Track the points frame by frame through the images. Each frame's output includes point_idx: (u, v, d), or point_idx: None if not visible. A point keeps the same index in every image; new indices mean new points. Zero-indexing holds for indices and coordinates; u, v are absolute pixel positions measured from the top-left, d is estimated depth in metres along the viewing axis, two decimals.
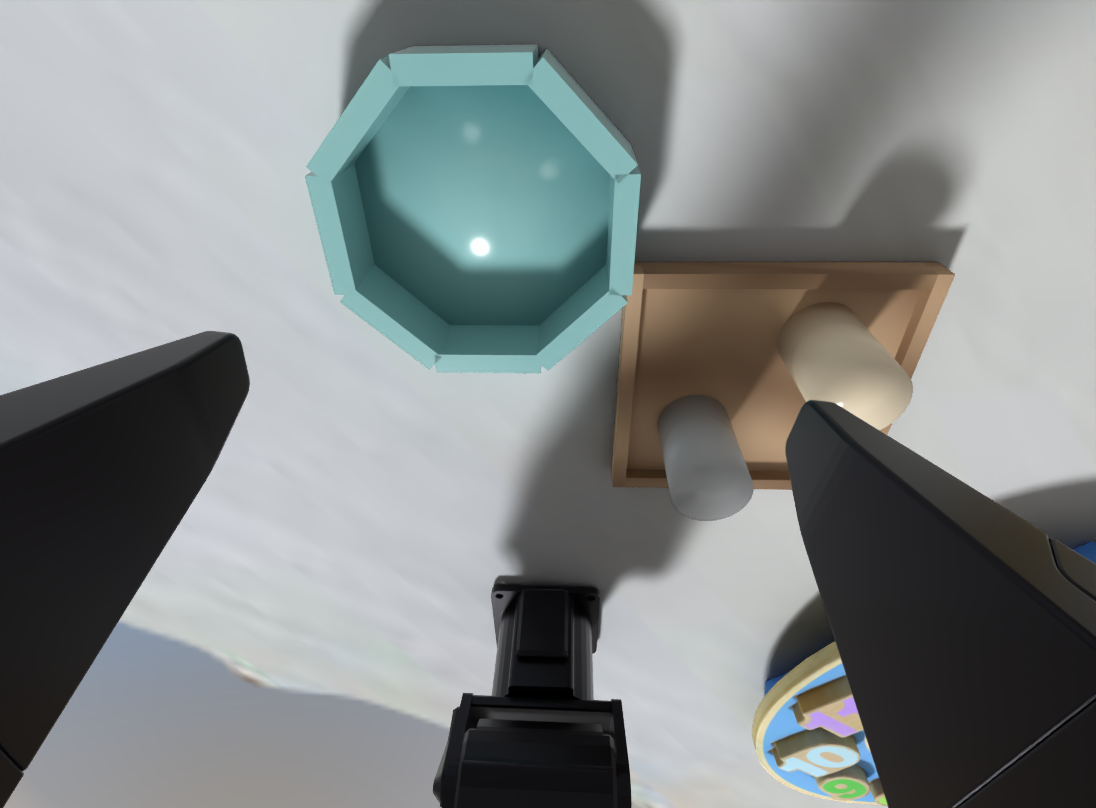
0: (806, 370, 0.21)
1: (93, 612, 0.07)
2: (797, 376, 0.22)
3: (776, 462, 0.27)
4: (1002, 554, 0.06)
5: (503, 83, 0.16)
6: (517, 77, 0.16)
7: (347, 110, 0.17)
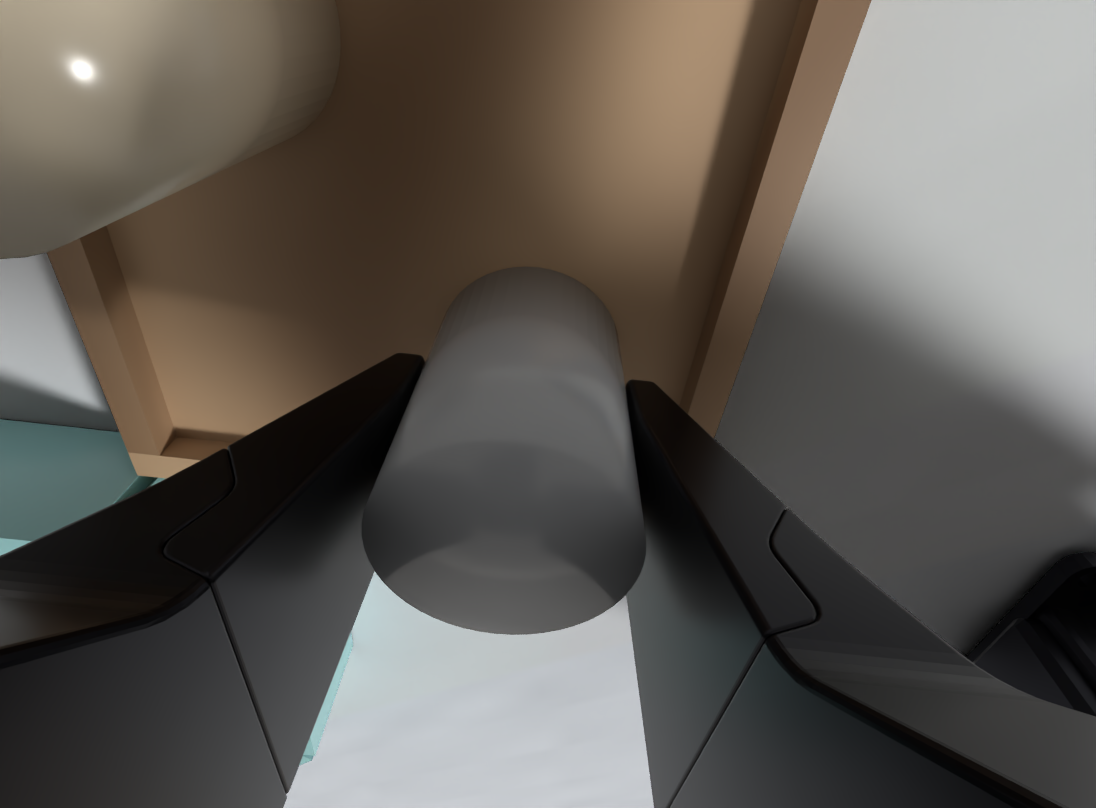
0: None
1: (336, 636, 0.07)
2: None
3: (727, 99, 0.08)
4: (717, 524, 0.06)
5: None
6: None
7: None
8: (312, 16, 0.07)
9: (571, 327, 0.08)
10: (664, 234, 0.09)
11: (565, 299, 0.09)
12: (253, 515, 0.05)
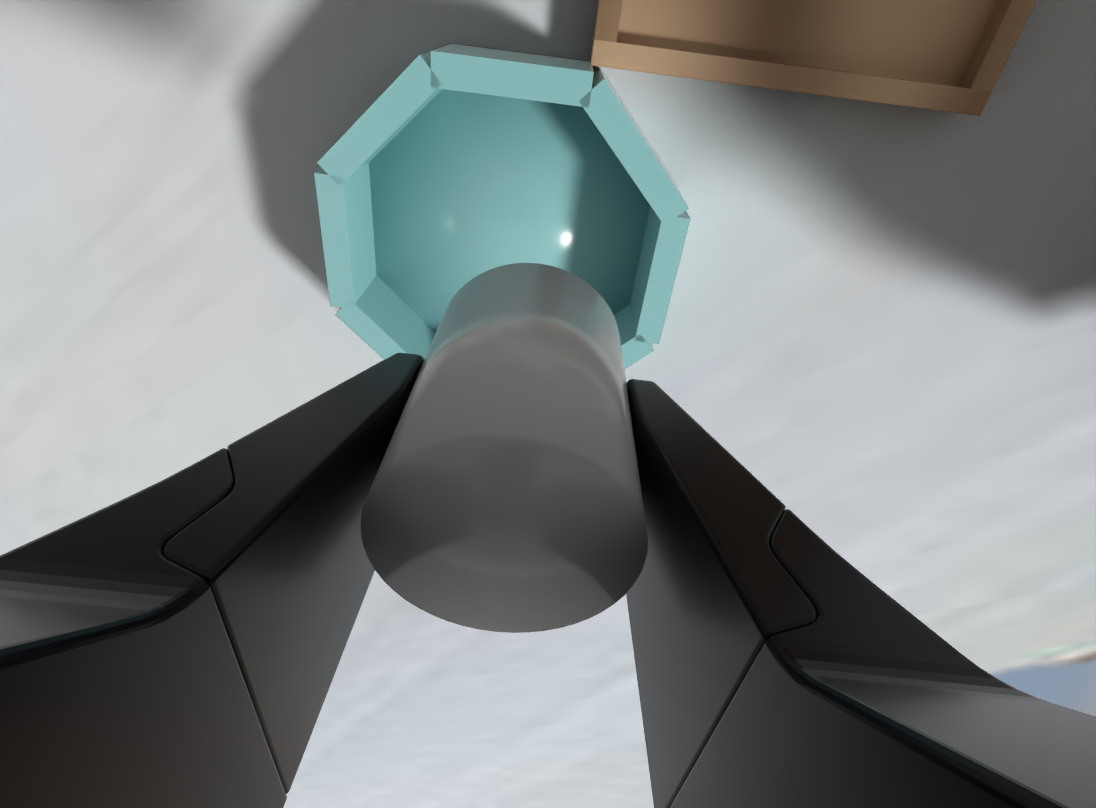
0: None
1: (336, 636, 0.07)
2: None
3: None
4: (717, 524, 0.06)
5: (344, 207, 0.16)
6: (337, 192, 0.16)
7: (377, 351, 0.19)
8: None
9: (572, 323, 0.08)
10: None
11: (566, 295, 0.08)
12: (253, 515, 0.05)
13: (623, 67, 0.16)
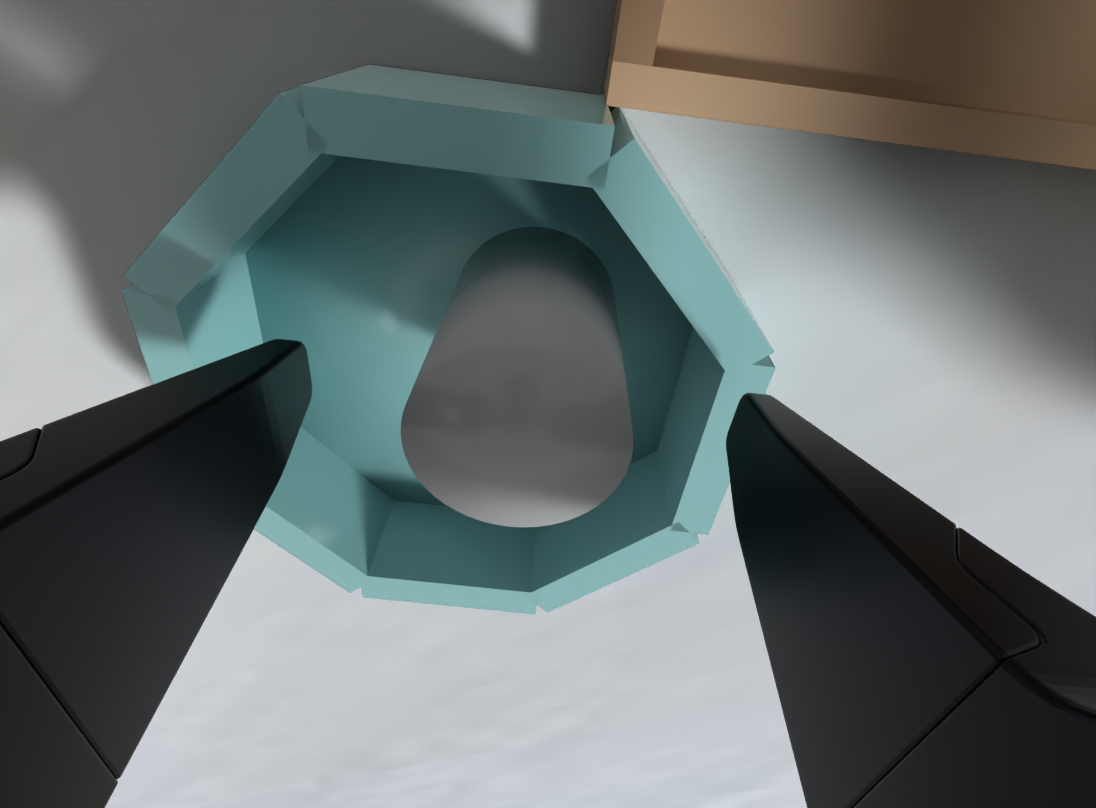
0: None
1: (180, 621, 0.07)
2: None
3: None
4: (902, 544, 0.06)
5: (183, 344, 0.10)
6: (168, 321, 0.09)
7: (270, 537, 0.12)
8: None
9: (572, 273, 0.09)
10: None
11: (567, 252, 0.10)
12: (32, 492, 0.05)
13: (663, 109, 0.09)
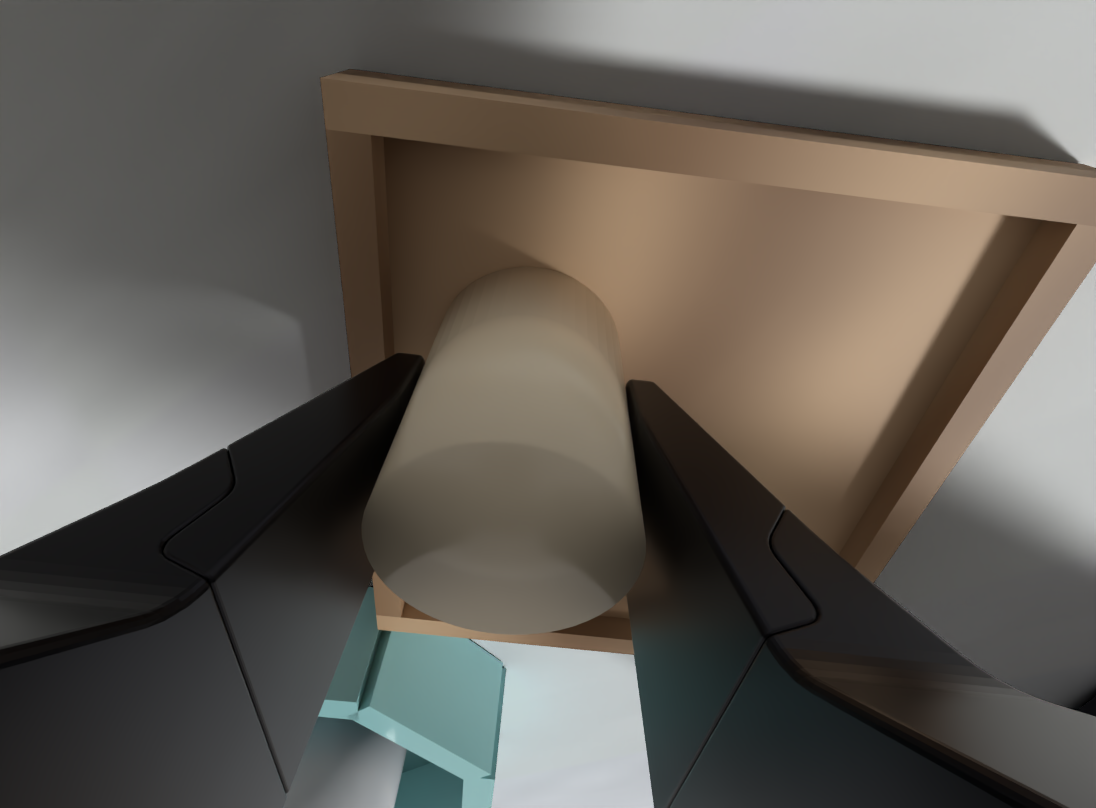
0: None
1: (336, 636, 0.07)
2: None
3: (896, 404, 0.10)
4: (717, 523, 0.06)
5: None
6: None
7: None
8: None
9: None
10: (833, 479, 0.12)
11: None
12: (253, 515, 0.05)
13: (414, 631, 0.14)
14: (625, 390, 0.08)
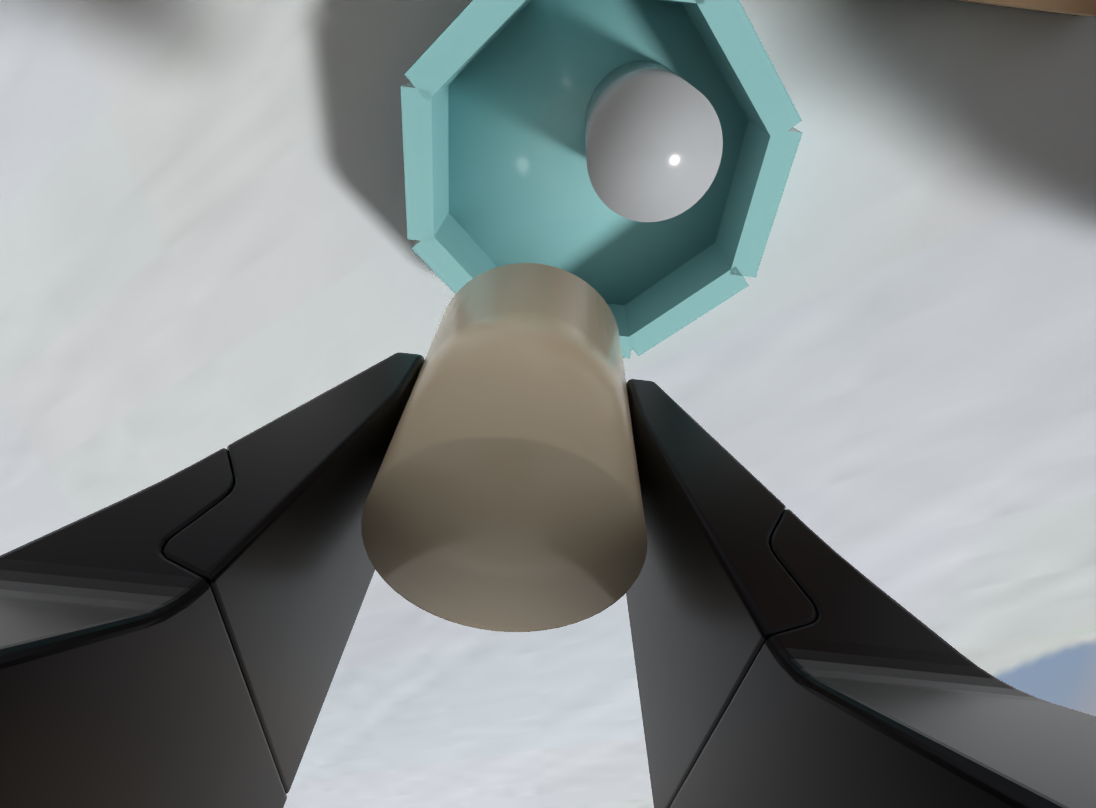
0: None
1: (336, 636, 0.07)
2: None
3: None
4: (717, 524, 0.06)
5: (430, 125, 0.15)
6: (424, 108, 0.15)
7: (454, 290, 0.18)
8: None
9: (675, 74, 0.15)
10: None
11: (668, 69, 0.16)
12: (253, 514, 0.05)
13: None
14: (626, 387, 0.08)
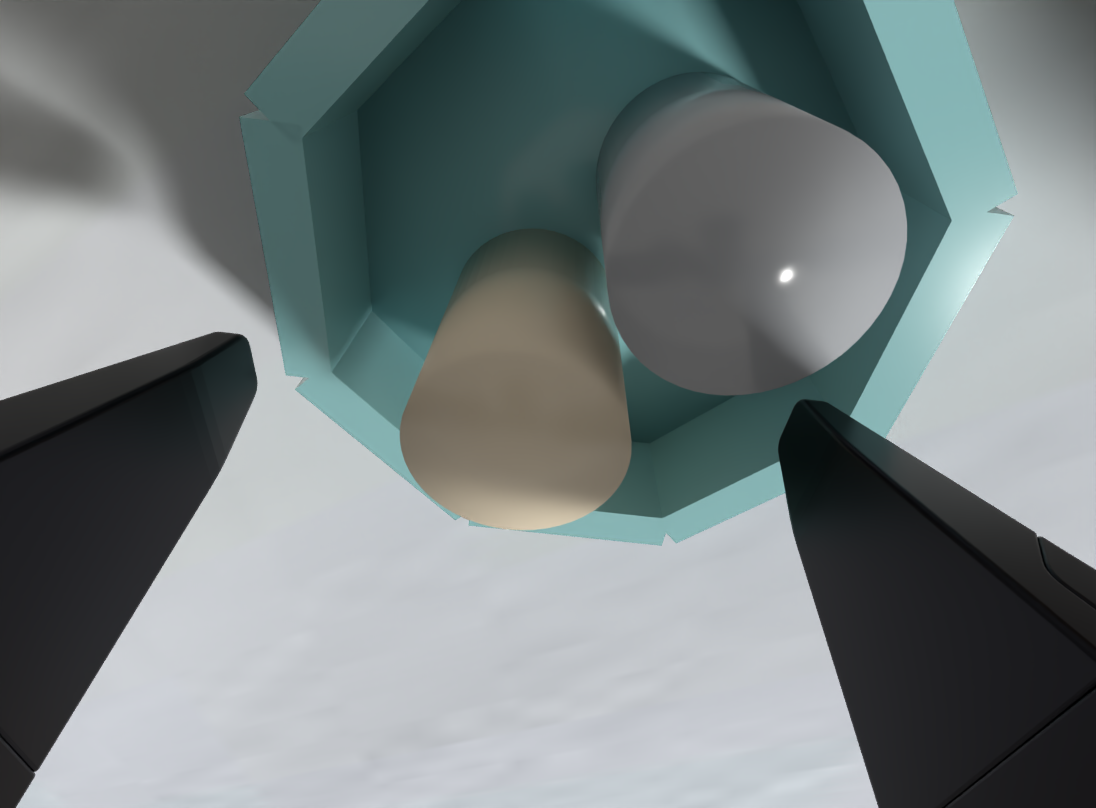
0: None
1: (104, 614, 0.07)
2: None
3: None
4: (989, 553, 0.06)
5: (305, 190, 0.08)
6: (291, 158, 0.08)
7: (373, 449, 0.11)
8: None
9: None
10: None
11: None
12: None
13: None
14: (617, 332, 0.10)
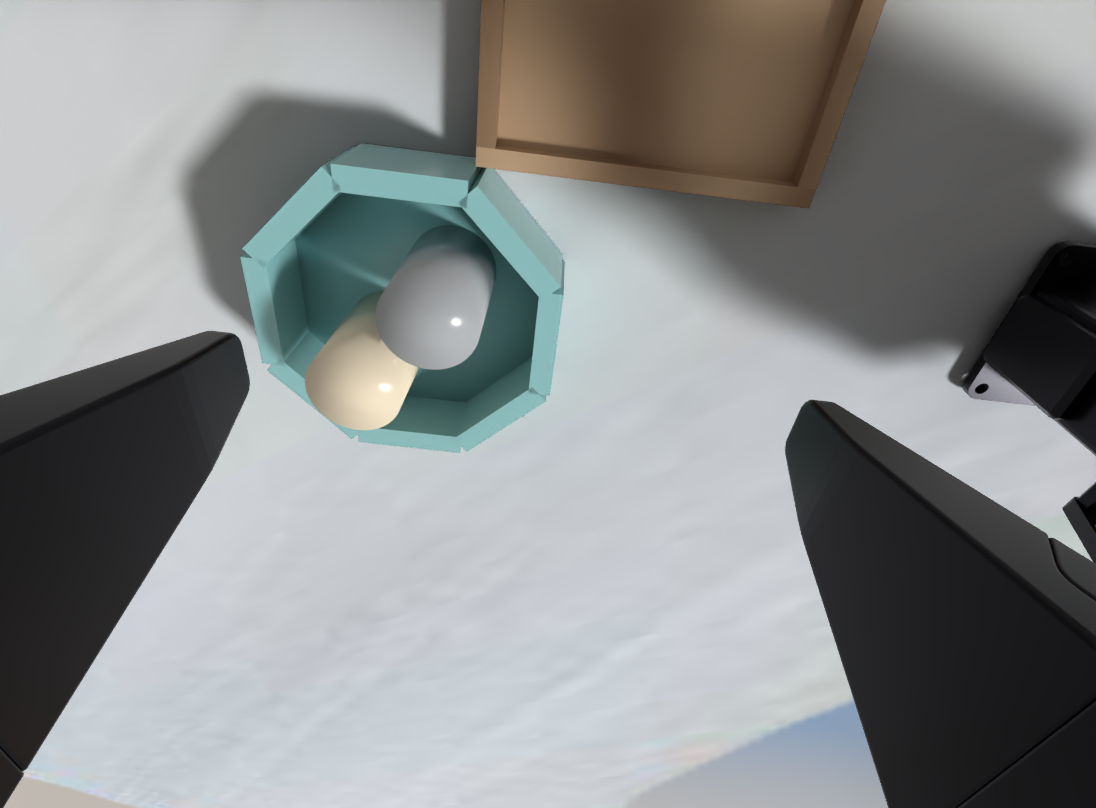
0: None
1: (93, 612, 0.07)
2: None
3: None
4: (1002, 554, 0.06)
5: (268, 284, 0.19)
6: (261, 271, 0.19)
7: (306, 400, 0.22)
8: None
9: (462, 248, 0.19)
10: None
11: (463, 238, 0.19)
12: None
13: (503, 168, 0.18)
14: None
